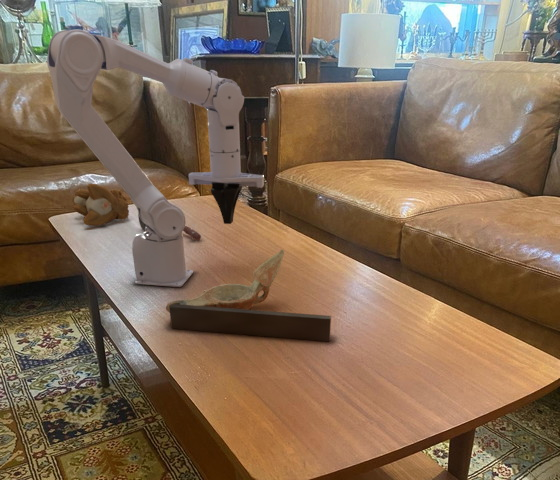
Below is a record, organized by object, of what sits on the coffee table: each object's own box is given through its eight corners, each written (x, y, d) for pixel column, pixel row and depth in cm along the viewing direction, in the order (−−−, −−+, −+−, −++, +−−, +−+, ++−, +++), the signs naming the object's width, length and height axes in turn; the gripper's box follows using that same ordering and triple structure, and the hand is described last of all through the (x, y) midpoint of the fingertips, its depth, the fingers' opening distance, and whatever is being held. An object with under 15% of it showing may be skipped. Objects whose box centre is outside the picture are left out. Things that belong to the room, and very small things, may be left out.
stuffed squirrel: (82, 224, 135) (65, 222, 145) (136, 228, 144) (116, 226, 154) (81, 182, 132) (64, 182, 142) (136, 188, 141) (116, 188, 151)
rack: (171, 328, 90) (168, 306, 88) (173, 325, 91) (171, 303, 89) (329, 341, 86) (330, 319, 84) (330, 338, 88) (331, 315, 85)
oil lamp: (292, 311, 96) (293, 257, 91) (173, 333, 89) (166, 275, 84) (274, 293, 103) (273, 241, 98) (161, 312, 96) (154, 257, 90)
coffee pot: (136, 225, 138) (167, 225, 143) (168, 254, 126) (200, 252, 131) (138, 196, 134) (170, 196, 139) (171, 222, 122) (204, 222, 127)
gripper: (266, 147, 105) (267, 218, 112) (194, 145, 107) (199, 215, 114) (259, 154, 99) (260, 228, 106) (182, 152, 101) (189, 224, 108)
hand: (228, 222), depth 110 cm, fingers closed
